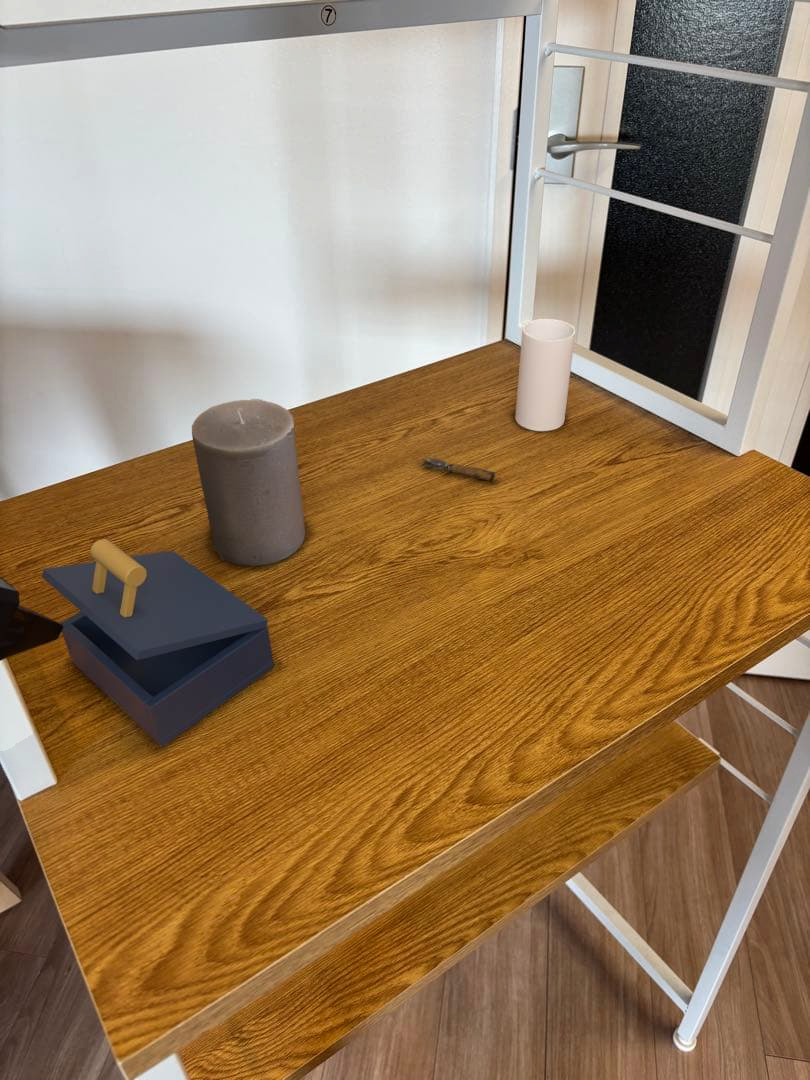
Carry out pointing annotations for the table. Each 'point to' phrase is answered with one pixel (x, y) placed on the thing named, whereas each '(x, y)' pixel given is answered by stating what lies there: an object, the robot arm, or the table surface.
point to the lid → (152, 600)
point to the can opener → (462, 469)
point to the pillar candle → (250, 481)
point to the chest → (168, 675)
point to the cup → (544, 374)
